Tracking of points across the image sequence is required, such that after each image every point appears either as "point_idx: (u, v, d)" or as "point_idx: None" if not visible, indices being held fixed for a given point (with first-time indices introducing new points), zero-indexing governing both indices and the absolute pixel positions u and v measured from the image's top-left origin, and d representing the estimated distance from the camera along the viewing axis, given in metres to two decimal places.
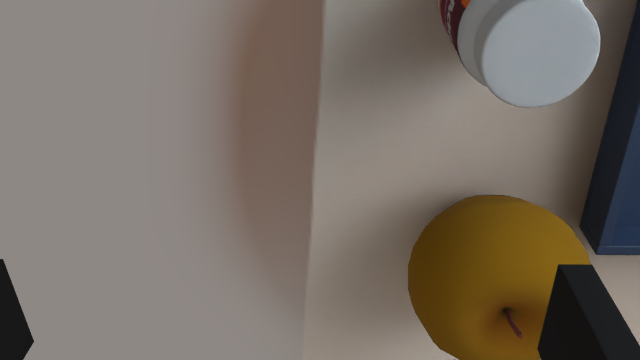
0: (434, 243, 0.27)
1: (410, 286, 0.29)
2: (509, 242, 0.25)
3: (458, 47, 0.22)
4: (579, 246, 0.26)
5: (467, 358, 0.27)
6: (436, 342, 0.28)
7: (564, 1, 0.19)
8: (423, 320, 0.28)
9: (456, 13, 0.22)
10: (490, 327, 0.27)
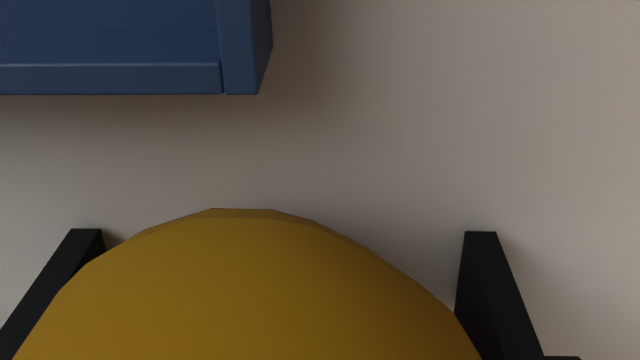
0: None
1: None
2: None
3: None
4: (29, 353, 0.09)
5: None
6: None
7: None
8: None
9: None
10: None
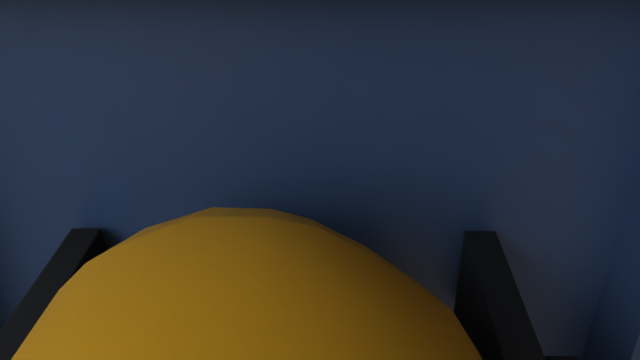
0: None
1: None
2: None
3: None
4: (29, 352, 0.09)
5: None
6: None
7: None
8: None
9: None
10: None
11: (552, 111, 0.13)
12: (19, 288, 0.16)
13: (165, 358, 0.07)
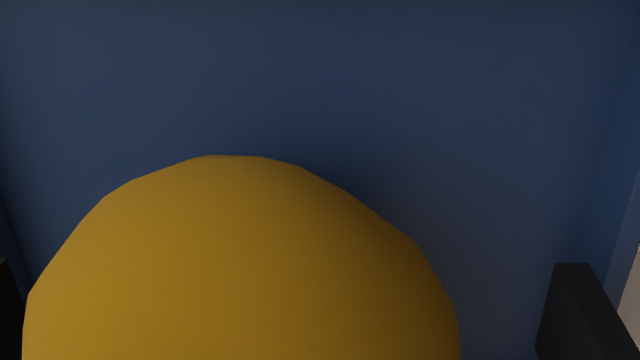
0: None
1: None
2: None
3: None
4: (58, 262, 0.10)
5: None
6: None
7: None
8: None
9: None
10: None
11: (528, 78, 0.14)
12: (53, 243, 0.18)
13: (171, 256, 0.09)
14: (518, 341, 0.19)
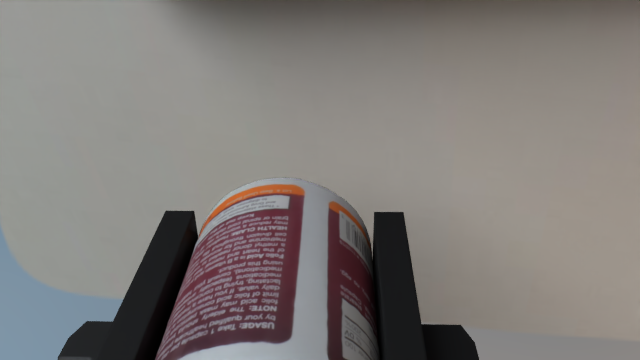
0: None
1: None
2: None
3: None
4: None
5: None
6: None
7: None
8: None
9: None
10: None
11: None
12: None
13: None
14: None
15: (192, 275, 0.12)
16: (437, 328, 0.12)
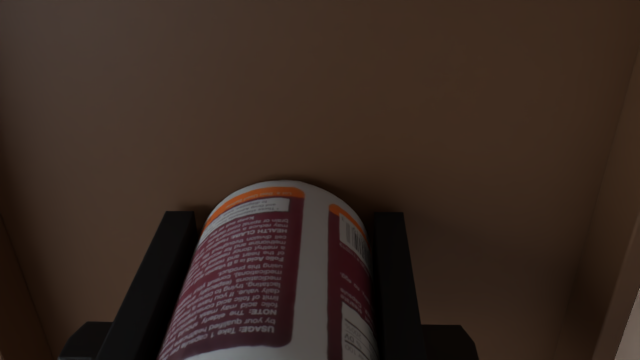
0: None
1: None
2: None
3: None
4: None
5: None
6: None
7: None
8: None
9: None
10: None
11: None
12: None
13: None
14: None
15: (192, 278, 0.12)
16: (437, 328, 0.12)
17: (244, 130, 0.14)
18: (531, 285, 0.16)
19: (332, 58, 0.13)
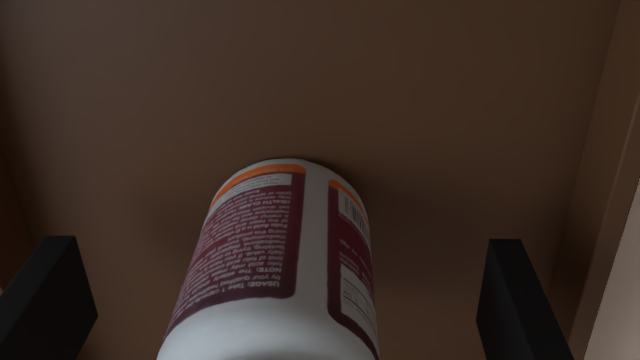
0: None
1: None
2: None
3: None
4: None
5: None
6: None
7: None
8: None
9: None
10: None
11: None
12: None
13: None
14: None
15: (203, 245, 0.14)
16: None
17: (246, 113, 0.15)
18: None
19: (328, 45, 0.14)
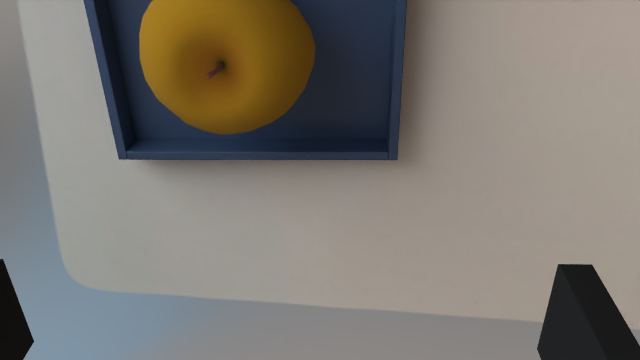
0: None
1: None
2: (144, 73, 0.29)
3: None
4: None
5: (263, 106, 0.29)
6: (267, 122, 0.30)
7: None
8: (247, 131, 0.31)
9: None
10: (230, 85, 0.29)
11: None
12: (133, 42, 0.36)
13: None
14: (371, 101, 0.37)
15: None
16: None
17: None
18: None
19: None
